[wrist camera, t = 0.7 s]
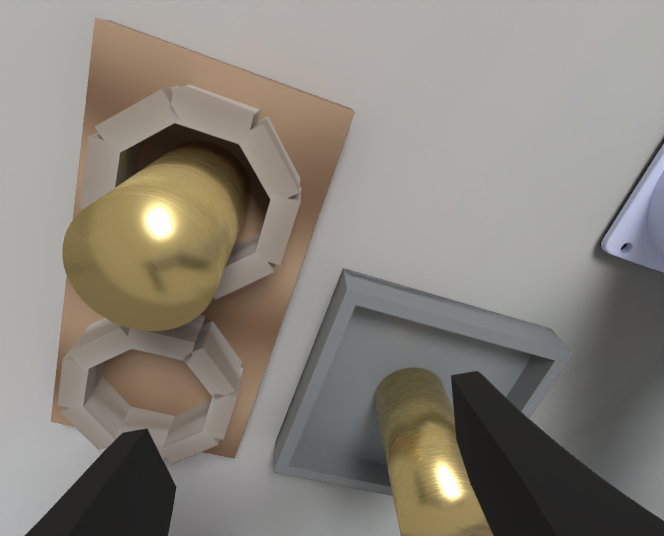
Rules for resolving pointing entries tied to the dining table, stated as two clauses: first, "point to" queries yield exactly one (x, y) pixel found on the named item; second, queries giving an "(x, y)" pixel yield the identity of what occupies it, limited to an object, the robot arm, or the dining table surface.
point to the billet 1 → (159, 238)
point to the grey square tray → (394, 354)
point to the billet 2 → (425, 457)
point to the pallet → (245, 305)
